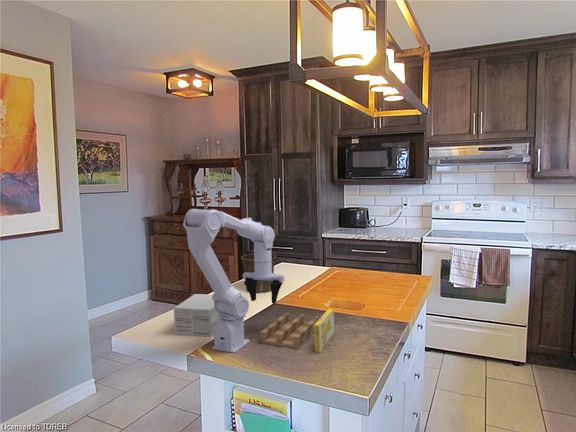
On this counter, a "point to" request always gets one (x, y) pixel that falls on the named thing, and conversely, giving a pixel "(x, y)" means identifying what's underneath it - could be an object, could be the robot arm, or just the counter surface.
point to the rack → (288, 331)
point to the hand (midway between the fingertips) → (263, 301)
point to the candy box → (324, 330)
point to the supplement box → (196, 316)
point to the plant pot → (249, 267)
